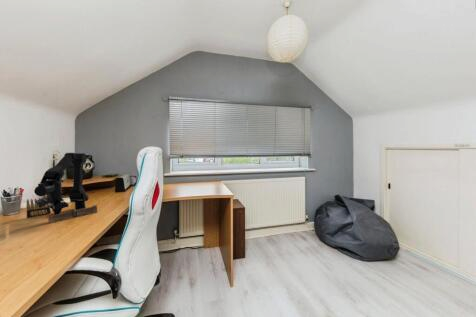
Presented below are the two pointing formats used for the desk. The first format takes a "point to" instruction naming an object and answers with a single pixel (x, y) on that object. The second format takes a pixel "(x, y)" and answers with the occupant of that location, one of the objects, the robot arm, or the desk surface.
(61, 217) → the fence gate
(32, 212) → the ammunition clip
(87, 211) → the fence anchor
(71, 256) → the desk surface
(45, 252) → the desk surface
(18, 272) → the desk surface
